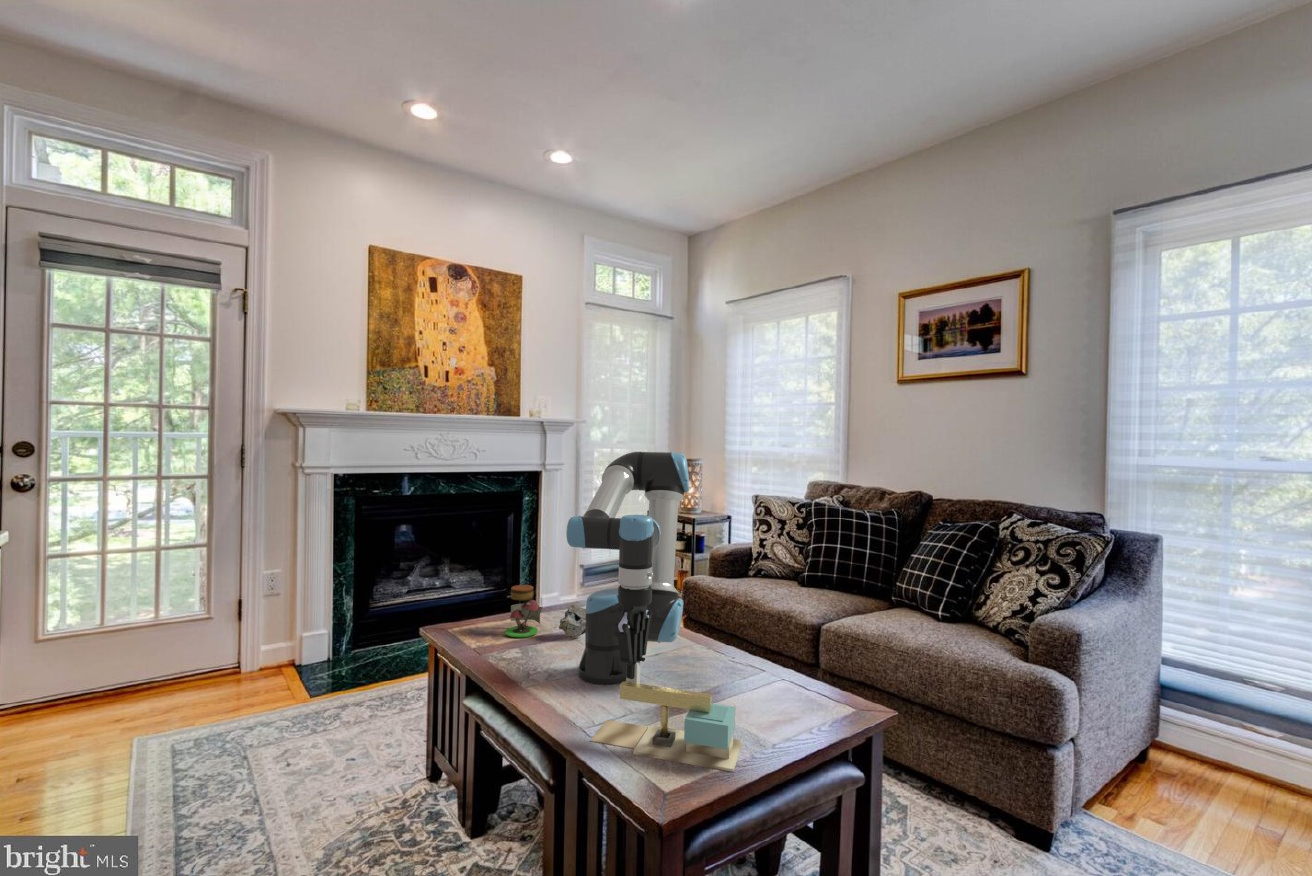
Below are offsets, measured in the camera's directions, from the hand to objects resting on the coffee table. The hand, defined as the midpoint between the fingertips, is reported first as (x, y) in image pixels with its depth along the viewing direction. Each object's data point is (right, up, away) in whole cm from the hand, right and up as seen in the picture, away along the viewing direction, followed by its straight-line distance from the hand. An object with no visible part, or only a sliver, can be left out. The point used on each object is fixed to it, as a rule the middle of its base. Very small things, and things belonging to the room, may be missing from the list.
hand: (632, 691), depth 135 cm
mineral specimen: (-21, -9, +62) cm, 66 cm away
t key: (+7, -10, -4) cm, 13 cm away
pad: (-3, -9, -1) cm, 10 cm away
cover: (+17, -6, -7) cm, 19 cm away
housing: (+12, -10, -6) cm, 17 cm away
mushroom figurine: (-39, -9, +67) cm, 78 cm away
